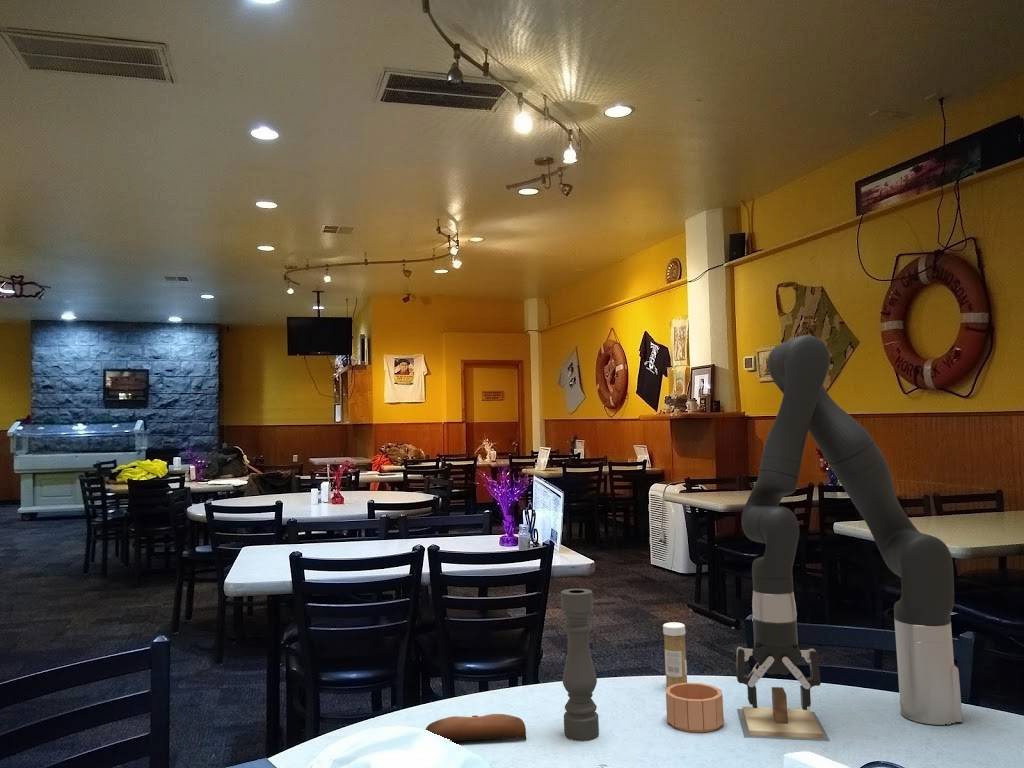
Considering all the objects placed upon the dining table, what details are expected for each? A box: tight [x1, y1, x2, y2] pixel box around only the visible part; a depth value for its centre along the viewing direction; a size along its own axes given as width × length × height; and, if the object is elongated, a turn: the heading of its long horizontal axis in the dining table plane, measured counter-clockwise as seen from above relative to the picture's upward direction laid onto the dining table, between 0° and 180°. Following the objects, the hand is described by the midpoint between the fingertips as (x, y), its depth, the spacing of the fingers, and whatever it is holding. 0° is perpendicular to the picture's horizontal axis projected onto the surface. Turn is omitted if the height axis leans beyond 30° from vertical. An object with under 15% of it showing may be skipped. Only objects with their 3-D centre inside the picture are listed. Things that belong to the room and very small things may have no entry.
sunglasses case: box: [425, 713, 527, 742], centre depth 135 cm, size 18×7×7 cm, turn 94°
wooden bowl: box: [665, 682, 725, 733], centre depth 138 cm, size 10×10×6 cm
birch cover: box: [741, 686, 823, 738], centre depth 136 cm, size 12×12×6 cm
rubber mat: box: [736, 708, 831, 742], centre depth 136 cm, size 14×14×1 cm
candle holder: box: [560, 588, 600, 742], centre depth 136 cm, size 6×6×25 cm
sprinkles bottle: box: [662, 621, 688, 689], centre depth 157 cm, size 5×5×13 cm
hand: (779, 707), depth 136 cm, fingers open, 8 cm apart
